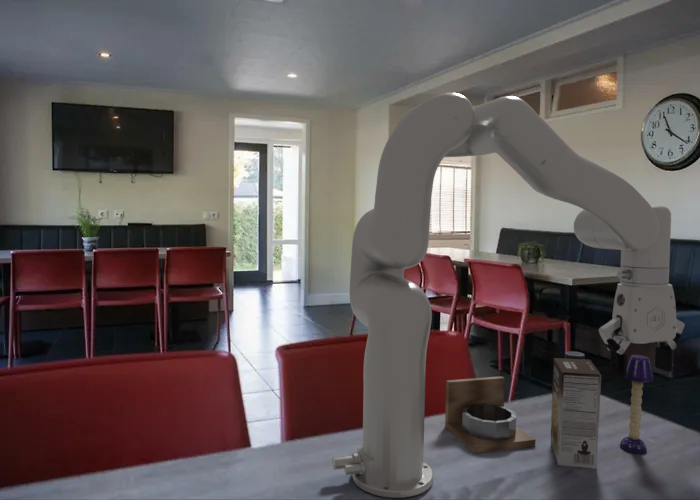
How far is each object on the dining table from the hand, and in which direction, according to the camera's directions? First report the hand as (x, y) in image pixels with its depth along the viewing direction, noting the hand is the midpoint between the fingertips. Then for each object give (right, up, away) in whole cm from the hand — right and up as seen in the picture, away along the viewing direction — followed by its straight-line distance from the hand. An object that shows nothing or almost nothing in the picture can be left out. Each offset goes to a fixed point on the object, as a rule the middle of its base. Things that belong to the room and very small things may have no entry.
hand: (641, 372), depth 97 cm
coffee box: (-13, -14, -3) cm, 20 cm away
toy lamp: (-1, -14, +1) cm, 14 cm away
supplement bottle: (-3, -12, +23) cm, 26 cm away
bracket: (-26, -13, +5) cm, 29 cm away
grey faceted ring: (-26, -12, +5) cm, 29 cm away
